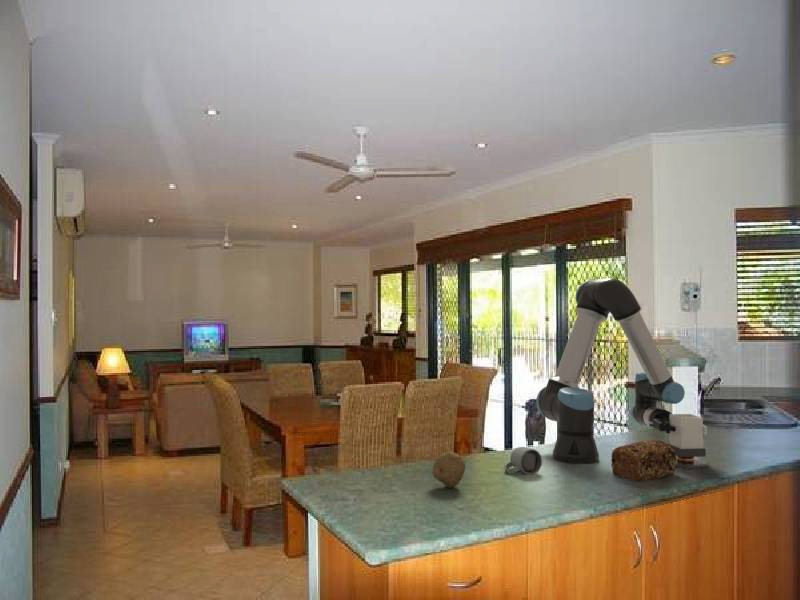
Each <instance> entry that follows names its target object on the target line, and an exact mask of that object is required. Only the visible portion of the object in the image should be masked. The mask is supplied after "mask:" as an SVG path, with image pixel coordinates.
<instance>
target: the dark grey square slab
mask: <svg viewBox="0 0 800 600" xmlns="http://www.w3.org/2000/svg"><path fill="white" fill-rule="evenodd" d="M666 444H667V445H669V446H670V447H671V448H673V449H674V450H675V452H676V457H677V456H679V457H694V458H695V457H697V458H699V457H706V456H707V453H706V452H707V451H706V448H704V447H703V448H702V449H680V448H678V447H675V446H673V445H670V443H666Z"/></svg>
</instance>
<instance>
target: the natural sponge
mask: <svg viewBox="0 0 800 600" xmlns="http://www.w3.org/2000/svg"><path fill="white" fill-rule="evenodd" d="M465 471H466V463H465V460H464V459H463V457H462V456H461V455H460V454H459V453H456V452H453V451H446V452H443V453H441V454H440V455H438V456H437V458H436V460H435V461H434V464H433V466H432V475H433V477H434V479H436V480H437V481H439V482H440V483H442V484H443V485H444V486H445V487H447V488H449V489H450V488H451V489H452V488H454V487H457V486H458V484H459V483H460V482H461V481H462V479H463V477H464V474H465Z"/></svg>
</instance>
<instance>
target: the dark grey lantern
mask: <svg viewBox="0 0 800 600" xmlns="http://www.w3.org/2000/svg"><path fill="white" fill-rule="evenodd" d="M677 466H678V468H681V469H685V470H690V469H691V468H693V469H698V468H697V467H700V468H705V466H707V467H710V462H706V461H702V460H698V459H695V457H679V456H676V464H675V467H677Z"/></svg>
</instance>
